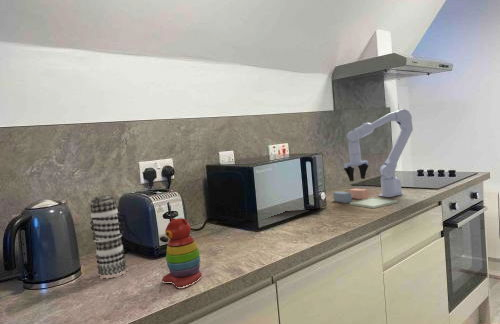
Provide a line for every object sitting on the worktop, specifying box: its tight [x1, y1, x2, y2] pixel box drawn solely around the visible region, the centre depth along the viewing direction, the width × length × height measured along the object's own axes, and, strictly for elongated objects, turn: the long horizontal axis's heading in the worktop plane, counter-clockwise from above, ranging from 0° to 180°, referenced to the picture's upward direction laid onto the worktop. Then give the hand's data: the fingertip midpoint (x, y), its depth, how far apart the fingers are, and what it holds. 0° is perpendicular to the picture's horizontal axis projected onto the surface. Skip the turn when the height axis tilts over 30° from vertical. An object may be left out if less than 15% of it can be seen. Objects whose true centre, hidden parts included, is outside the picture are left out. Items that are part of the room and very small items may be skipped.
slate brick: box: [332, 191, 353, 204], centre depth 191 cm, size 4×9×4 cm, turn 26°
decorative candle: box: [88, 194, 128, 275], centre depth 118 cm, size 9×9×25 cm
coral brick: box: [349, 188, 369, 200], centre depth 194 cm, size 4×9×4 cm, turn 26°
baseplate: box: [348, 196, 399, 209], centre depth 177 cm, size 15×16×1 cm
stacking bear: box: [161, 217, 203, 287], centre depth 106 cm, size 11×10×18 cm
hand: (357, 179), depth 194 cm, fingers open, 7 cm apart
